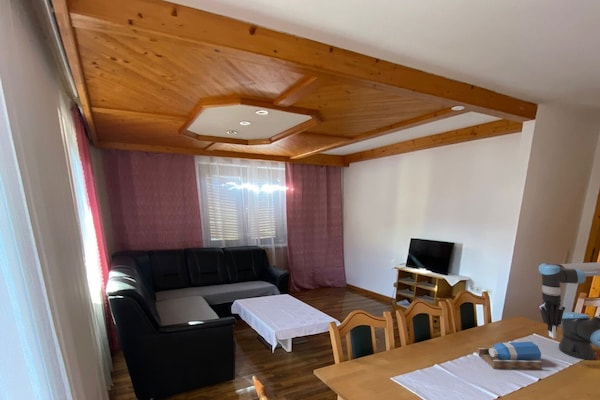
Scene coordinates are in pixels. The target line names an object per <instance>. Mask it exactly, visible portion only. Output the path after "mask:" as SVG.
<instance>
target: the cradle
mask: <svg viewBox="0 0 600 400" xmlns="http://www.w3.org/2000/svg"><path fill="white" fill-rule="evenodd" d="M489 349H493V347H492V348H491V347H490V348H488V347H482V348H481V347H478V357H480V359H482V360H483V361H484V362H485V363H486V364H488V366H490V367H491V368H492V369H494V370H517V371H519V370H522V371H542V369H543V366H542V365H543V364H542V363H543V361H541V360H530V361H524V360H499V359H498V358H496V357H492V356H491V355H490V354H489Z"/></svg>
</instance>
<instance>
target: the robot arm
mask: <svg viewBox="0 0 600 400" xmlns="http://www.w3.org/2000/svg"><path fill="white" fill-rule="evenodd" d="M538 272H539V274H540V275H541V290H542V291H541V295H542V296H541V297H542V300H543V301H542V304H541V305H538V307H537V308H538V309H539V310H540V314H541V318H542V321H543V322H542V323H544V324H546V325H547V331H548V337H551V338H552V339H557V331H558V327H560V325H561V327H562V330H561V331H562V337H561V339H560V343H559V344H558V350H559V351H560V352H562V353H564V354H565V355H568V356H570V357H573V358H576V359H580V360H589V361H591V360H592V359H593V360H595V359H596V353H595V352H594V347H593V346H595V347H596V348H598V349H599V348H600V315H595V316H594V315H593V317H592V319H591V317H590V315H589V314H586V313H582V312H581V313H580V312H572V311H565V310H566V307H565V306H562V305H561V301H562V299H561V298H562V296H561V291H562V290H561V284H575V285H577V284H583V283H585V282H586V280H587V279H586V277H599V276H600V261H599V262H577V263H576V262H575V263H555V264H550V263H541V264H539V266H538ZM592 345H593V346H592Z"/></svg>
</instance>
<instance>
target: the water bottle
mask: <svg viewBox="0 0 600 400" xmlns="http://www.w3.org/2000/svg"><path fill="white" fill-rule="evenodd" d="M492 348H493V349H489V354H490V355H491V356H492V357H496V358H498V359H499V360H524V361H530V360H531V361H541V356H542V352H541V350H540V348H539V346H538V345H537V344H535V342H533V341H521V342H520V341H515V342H498V343H495V344H494V346H493V347H492Z"/></svg>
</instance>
